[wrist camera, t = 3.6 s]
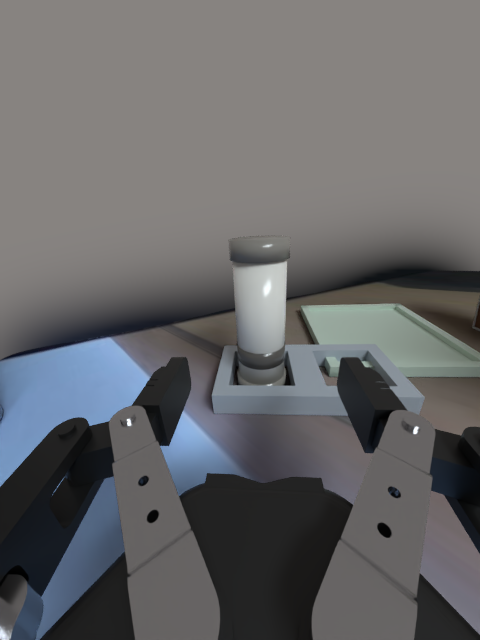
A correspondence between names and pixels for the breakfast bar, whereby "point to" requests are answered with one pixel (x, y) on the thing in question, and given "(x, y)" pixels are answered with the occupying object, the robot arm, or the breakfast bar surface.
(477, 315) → the food container
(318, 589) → the robot arm
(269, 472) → the breakfast bar surface
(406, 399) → the fuse block
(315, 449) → the breakfast bar surface
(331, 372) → the tray
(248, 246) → the grey-capped white cylinder
